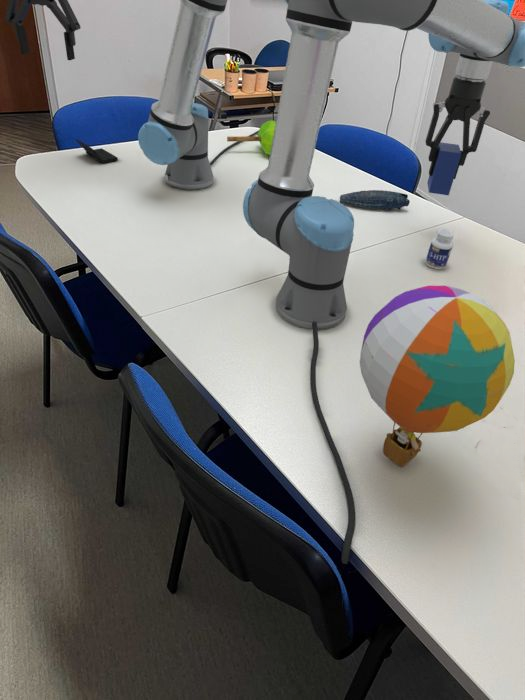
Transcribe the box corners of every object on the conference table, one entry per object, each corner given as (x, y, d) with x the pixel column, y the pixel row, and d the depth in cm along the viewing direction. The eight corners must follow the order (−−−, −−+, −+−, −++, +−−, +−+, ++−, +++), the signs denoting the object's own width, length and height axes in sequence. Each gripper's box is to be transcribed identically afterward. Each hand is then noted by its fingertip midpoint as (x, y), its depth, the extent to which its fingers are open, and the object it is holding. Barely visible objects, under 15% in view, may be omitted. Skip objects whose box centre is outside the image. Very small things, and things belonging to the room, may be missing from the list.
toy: (310, 447, 82) (343, 285, 63) (387, 396, 93) (435, 245, 74) (411, 535, 71) (486, 371, 52) (485, 466, 82) (569, 309, 63)
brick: (446, 185, 142) (458, 144, 135) (448, 195, 136) (461, 153, 129) (427, 182, 142) (438, 141, 136) (428, 192, 137) (440, 150, 130)
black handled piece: (122, 153, 174) (102, 132, 166) (111, 171, 173) (90, 150, 165) (101, 149, 181) (81, 128, 172) (90, 166, 179) (69, 146, 171)
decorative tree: (224, 117, 189) (303, 117, 195) (224, 146, 196) (301, 145, 201) (231, 131, 176) (316, 130, 181) (230, 162, 182) (313, 160, 188)
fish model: (408, 214, 157) (412, 198, 153) (339, 207, 158) (341, 191, 154) (406, 206, 162) (410, 190, 159) (339, 199, 163) (341, 183, 160)
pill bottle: (423, 266, 132) (433, 234, 126) (426, 257, 136) (435, 226, 130) (444, 271, 131) (455, 239, 125) (446, 262, 135) (457, 230, 129)
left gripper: (86, -36, 131) (96, 59, 144) (-5, -45, 134) (14, 48, 147) (71, -35, 125) (84, 64, 139) (-23, -45, 128) (-2, 53, 141)
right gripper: (507, 79, 124) (475, 175, 139) (430, 70, 126) (406, 166, 141) (512, 86, 118) (478, 185, 133) (431, 76, 120) (407, 175, 135)
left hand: (48, 56), depth 143 cm, fingers open, 13 cm apart
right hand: (441, 175), depth 137 cm, fingers closed on brick, 5 cm apart
